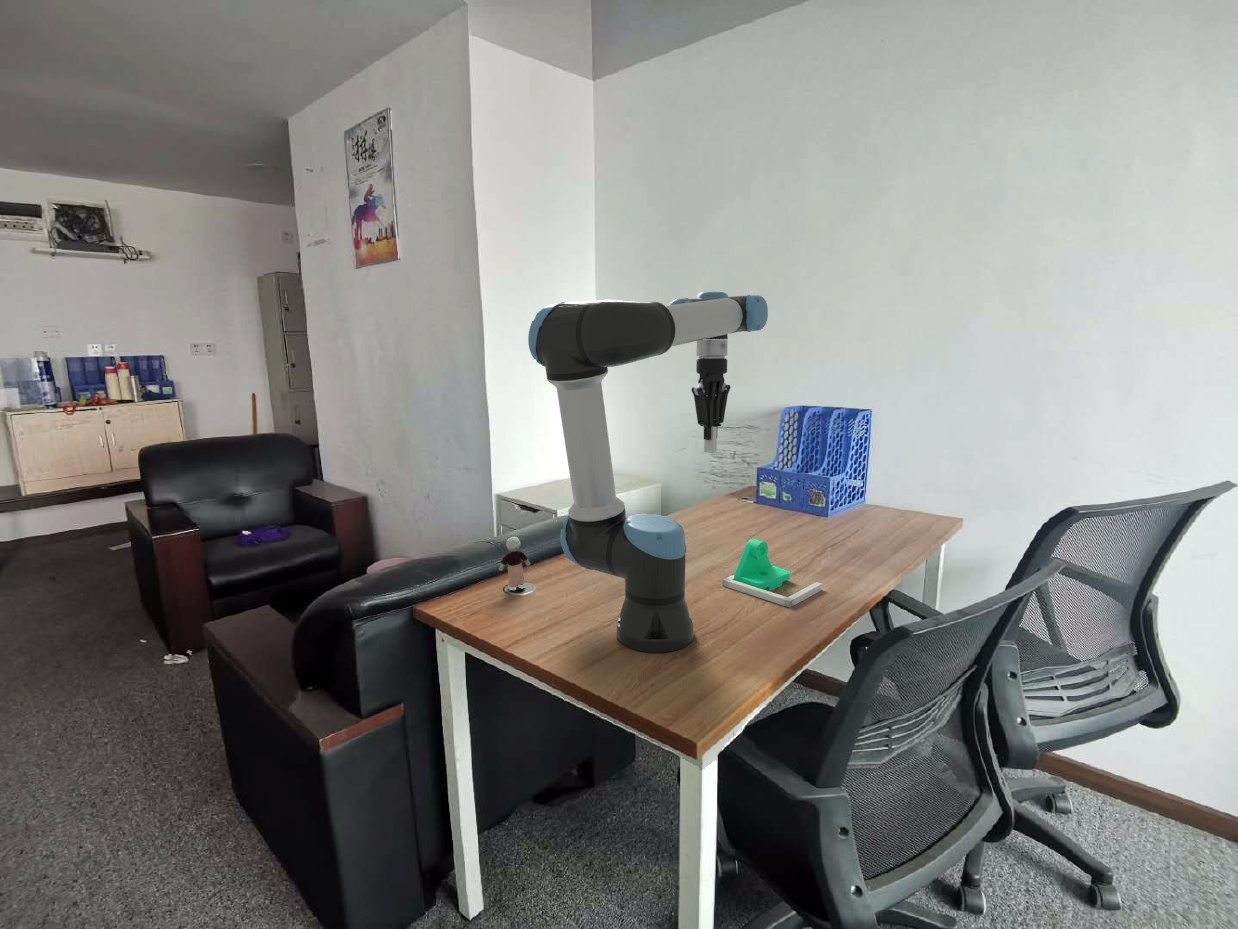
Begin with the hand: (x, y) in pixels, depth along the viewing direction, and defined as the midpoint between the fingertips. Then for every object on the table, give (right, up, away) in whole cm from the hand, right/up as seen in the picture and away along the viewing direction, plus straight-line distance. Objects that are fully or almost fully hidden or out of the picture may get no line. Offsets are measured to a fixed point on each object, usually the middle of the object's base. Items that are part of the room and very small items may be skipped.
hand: (710, 452), depth 158 cm
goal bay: (+13, -32, -11) cm, 36 cm away
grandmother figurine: (-48, -33, -10) cm, 59 cm away
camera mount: (+11, -32, -8) cm, 35 cm away
